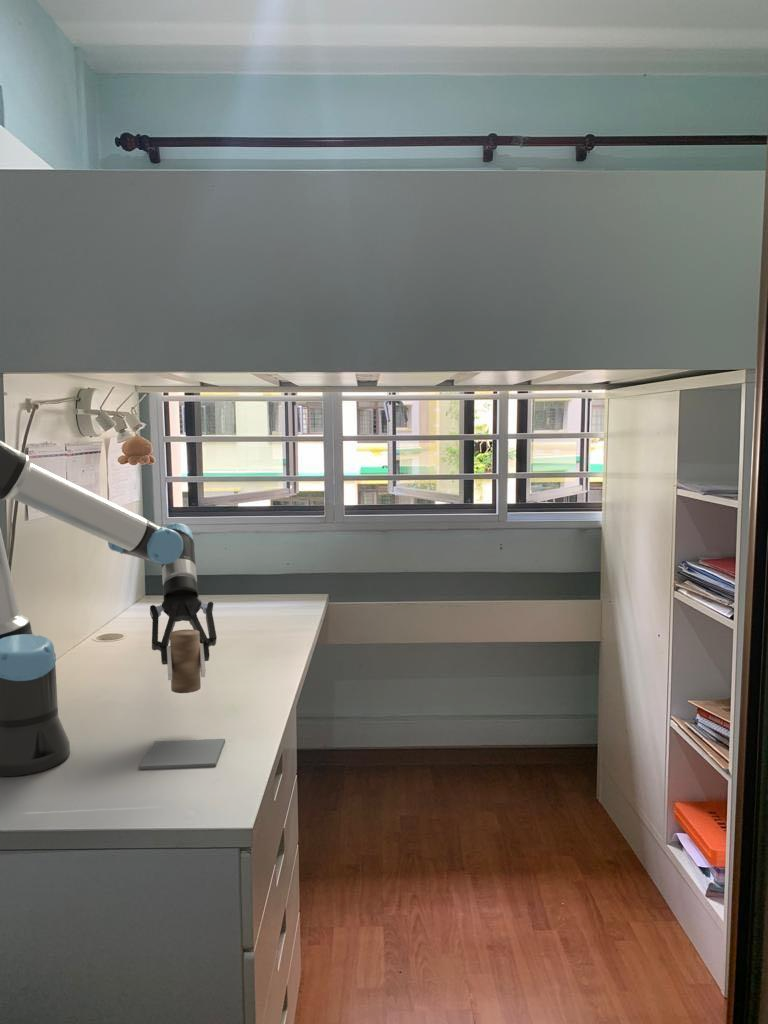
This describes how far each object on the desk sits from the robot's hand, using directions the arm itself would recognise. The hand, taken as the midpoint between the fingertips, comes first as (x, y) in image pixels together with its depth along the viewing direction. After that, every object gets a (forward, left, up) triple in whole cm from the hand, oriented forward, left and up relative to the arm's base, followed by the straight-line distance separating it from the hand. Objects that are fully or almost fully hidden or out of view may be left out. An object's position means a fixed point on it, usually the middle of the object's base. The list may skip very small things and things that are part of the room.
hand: (186, 675), depth 157 cm
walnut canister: (-1, +3, -4) cm, 5 cm away
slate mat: (+1, -11, -13) cm, 17 cm away
